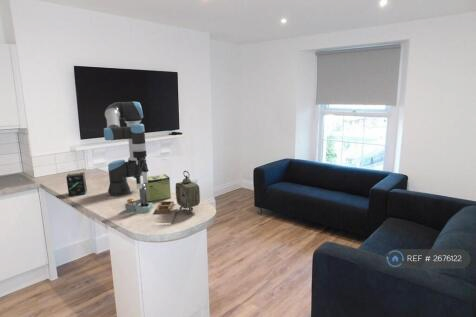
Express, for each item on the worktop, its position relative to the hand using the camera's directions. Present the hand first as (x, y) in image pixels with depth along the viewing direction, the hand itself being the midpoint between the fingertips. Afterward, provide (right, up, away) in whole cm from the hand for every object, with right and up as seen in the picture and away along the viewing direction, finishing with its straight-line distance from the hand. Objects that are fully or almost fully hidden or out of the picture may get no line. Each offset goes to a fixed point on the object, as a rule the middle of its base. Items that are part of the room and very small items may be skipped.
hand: (142, 185), depth 189 cm
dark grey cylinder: (0, -15, +3) cm, 15 cm away
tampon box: (-60, -10, +42) cm, 73 cm away
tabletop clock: (+27, -16, +3) cm, 32 cm away
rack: (+12, -16, +5) cm, 20 cm away
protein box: (+3, -12, +25) cm, 28 cm away
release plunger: (-8, -14, +3) cm, 16 cm away
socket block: (-3, -16, +4) cm, 17 cm away
